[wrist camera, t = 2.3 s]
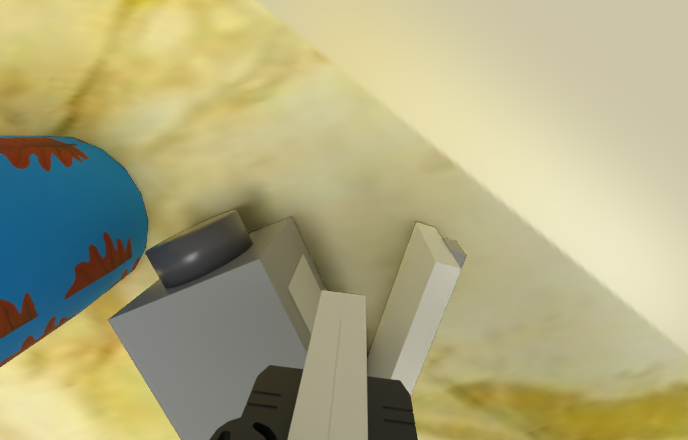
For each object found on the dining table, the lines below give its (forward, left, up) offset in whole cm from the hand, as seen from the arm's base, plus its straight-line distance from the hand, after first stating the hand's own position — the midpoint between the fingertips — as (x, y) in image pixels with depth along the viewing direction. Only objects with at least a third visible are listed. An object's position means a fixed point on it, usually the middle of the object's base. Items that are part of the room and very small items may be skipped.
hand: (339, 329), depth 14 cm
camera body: (-3, +7, -12) cm, 14 cm away
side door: (-6, -1, -12) cm, 13 cm away
